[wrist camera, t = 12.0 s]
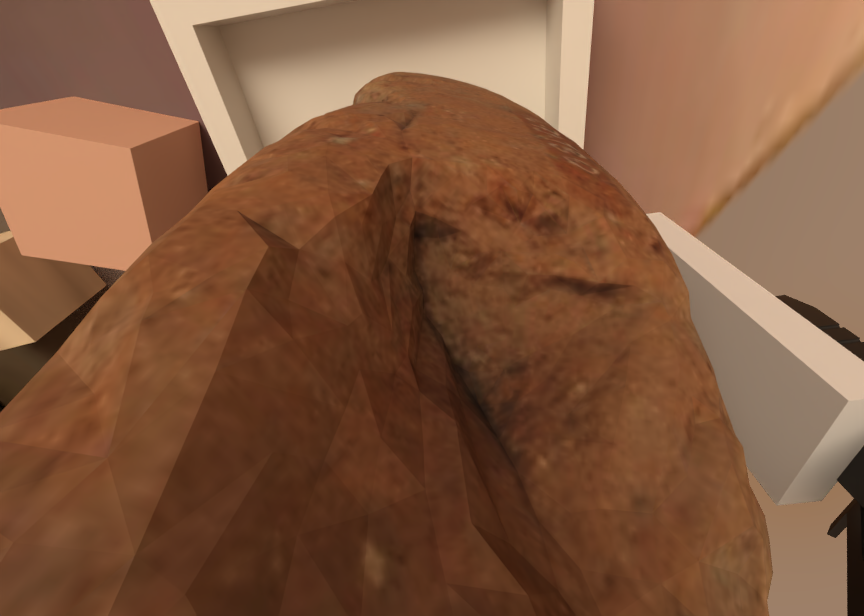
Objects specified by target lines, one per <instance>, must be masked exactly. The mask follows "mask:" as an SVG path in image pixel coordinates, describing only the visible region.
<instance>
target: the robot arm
mask: <svg viewBox="0 0 864 616" xmlns="http://www.w3.org/2000/svg"><path fill="white" fill-rule="evenodd" d="M646 215H647V216H648V217H649V219H650V220H651V221H652V222H653V224H654V225H655V227H656V228H657V230H658V232H659V233H660V235H661V237H662V238H663V240H664V242H665V243H666V245H667V247H668V248H669V250H670V251H671V253H672V255H673V257H674V260H675V262H676V264H677V266H678V269H679V271H680V273H681V275H682V278H683V280H684V282H685V284H686V286H687V289H688V291H689V300H690V314H691V319H692V321H693V323H694V326H695V328H696V330H697V333H698V335H699V337H700V339H701V342H702V344H703V346H704V348H705V351H706V353H707V355H708V357H709V360H710V362H711V364H712V367H713V369H714V373H715V376H716V380H717V384H718V388H719V390H720V393H721V396H722V399H723V401H724V404H725V407H726V410H727V413H728V415H729V418H730V421H731V424H732V426H733V429H734V432H735V435H736V436H737V438H738V440H739V441H740V443H741V444H742V446H743V449H744V455H745V461H746V466H747V467H748V469H749V470H750V471H751V473H752V474H753V475H754V477H755V478H756V479H757V480H758V482H759V483H760V485H761V486H762V487H763V488H764V490H765V491H766V492H767V494H768V495H769V496H770V498H771V499H772V500H773V502H774V503H775V504H776V505H784V504H785V505H786V504H796V503H806V502H816V501H822V500H823V499H824V497H825V496H826V495H827V494H828V493H829V491H830V490H831V489H832V488H833V486H834V485H835V484H836V483H837V481H838V482H839V483H840V484H841V485H842V486H843V487H844V488H845V489H846V490H847V491H848V492H849V493H850V494H851V495H852V497H853V498H854V499H853V500H852V502H851V503H850V504H849V505H848V506H847V507H846V508H845V509H844V510H843V512H842V513H841V514H840V515H839V516H838V517H837V518H836V520H835V521H834V522H833V523H832V524H831V526H830V528H829V531H828V533H827V534H828V535H830V536H832V537H835V538H836V537H837V536H838V535H839V534H840V533H841V532H842V531H843V530H844V528H846V527H847V602H848V603H847V609H848V610H847V611H848V616H864V342H860V340H859V339H860V338H859V337H857V336H856V335H854V334H853V333H852V332H850V331H849V330H847V329H846V328H840V327H839V324H838V323H837V322H836V321H834V320H833V319H831V318H829V317H828V316H827V315H825V314H824V313H822V312H821V311H820V310H818V309H817V308H815V307H813V306H810V305H808V304H805V303H803V302H800V301H798V300H796V299H793V298H791V297H789V296H786V295H782V296H774V295H772V294H771V293H770V292H768V291H767V290H766V289H764V288H763V287H762V286H760V285H759V284H757V283H756V282H755V281H753V280H752V279H751V278H749V277H748V276H747V275H745V274H744V273H742V272H741V271H740V270H738V269H737V268H736V267H734V266H733V265H732V264H730V263H729V262H727V261H726V260H725V259H723V258H722V257H721V256H719V255H718V254H717V253H715V252H714V251H712V250H711V249H710V248H708V247H707V246H706V245H704V244H703V243H702V242H700V241H699V240H697V239H696V238H695V237H693V236H692V235H691V234H689V233H688V232H687V231H685V230H684V229H682V228H681V227H680V226H678V225H677V224H676V223H674V222H673V221H672V220H670V219H669V218H667V217H666V216H665V215H663V214H662V213H661V212H658V213H651V214H646ZM2 410H3V409H2V408H1V407H0V412H1V411H2Z"/></svg>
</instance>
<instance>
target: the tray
mask: <svg viewBox="0 0 864 616" xmlns="http://www.w3.org/2000/svg"><path fill="white" fill-rule="evenodd" d="M150 2H151V4H152V7H153V9H154V11H155V13H156V16H157V18H158V20H159V22H160V25H161V27H162V29H163V31H164V34H165V36H166V38H167V40H168V43H169V45H170V47H171V49H172V52H173V54H174V56H175V58H176V61H177V63H178V65H179V67H180V70H181V72H182V74H183V76H184V79H185V81H186V83H187V85H188V88H189V90H190V92H191V94H192V97H193V99H194V101H195V103H196V106H197V108H198V110H199V113H200V115H201V117H202V119H203V122H204V124H205V126H206V128H207V131H208V133H209V135H210V137H211V140H212V142H213V144H214V146H215V149H216V151H217V153H218V155H219V158H220V160H221V162H222V164H223V167H224V169H225V171H226V173H227V176H228V175H229V174H231V173H232V172H233V171H234V170H236V169H237V168H238V167H239V166H241V165H242V164H243V163H245V162H246V161H247V160H249V159H250V158H251V157H252V156H254V155H255V154H256V153H258V152H259V151H260V150H262V149H263V148H264V147H265V146H268V145H270V144H273V143H275V142H277V141H279V140H281V139H282V138H283V137H285V136H286V135H287V134H289V133H290V132H291V131H293V130H294V129H295V128H297V127H299V126H300V125H302V124H304V123H305V122H307V121H309V120H310V119H312V118H315V117H318V116H321V115H325V113H328V112H332V111H335V110H338V109H341V108H344V107H347V106H351V105H353V100H354V97H355V94H356V93H357V92H358V91H359V90H360V89H361V88H362V87H363V86H364V85H365V84H366V83H369V82H370V81H371V80H373V79H375V78H377V77H379V76H382V75H385V74H388V73H393V72H411V73H422V74H428V75H434V76H441V77H445V78H450V79H454V80H458V81H462V82H466V83H469V84H472V85H476V86H479V87H482V88H485V89H487V90H490V91H492V92H495V93H497V94H500V95H502V96H504V97H506V98H508V99H509V100H511V101H513V102H515V103H517V104H519V105H521V106H523V107H525V108H527V109H528V110H530V111H532V112H533V113H535V114H536V115H538V116H540V117H541V118H542V119H543V120H545V121H546V122H547V123H549V124H550V125H551V126H552V127H554V128H555V129H556V130H557V131H559V132H560V133H562V134H563V135H565V136H566V137H568V138H570V139H571V140H573V141H574V142H576V143H577V144H578V145H579V146H580V147H581V148H582V149H583V147H584V133H585V120H586V106H587V92H588V79H589V65H590V51H591V38H592V24H593V10H594V0H150Z"/></svg>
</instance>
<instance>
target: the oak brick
mask: <svg viewBox="0 0 864 616" xmlns="http://www.w3.org/2000/svg"><path fill="white" fill-rule="evenodd" d="M105 286H106V284H105V282H104V281H103V280H102V279H101V278H100V277H99V276H98V274H97V273H96V272H95V271H94V270H93V269H92V268H91V266H90V265H84V264H78V263H71V262H64V261H57V260H51V259H44V258H37V257H31V256H24V255H21V253H20V250H19V248H18V246H17V244H16V241H15V239H14V237H13V235H12V232H11V231H8V232H4V233H1V234H0V351H1V350H5V349H9V348H13V347H17V346H21V345H25V344H29V343H33V342H36V341H37V340H39V339H40V338H41V337H42V336H44V335H45V334H46V333H47V332H49V331H50V330H51V329H52V328H54V327H55V326H56V325H57V324H59V323H60V322H61V321H62V320H64V319H65V318H66V317H67V316H69V315H70V314H71V313H72V312H74V311H75V310H76V309H78V308H79V307H80V306H81V305H83V304H84V303H85V302H86V301H88V300H89V299H90V298H91V297H93V296H94V295H95V294H96V293H98V292H99V291H100V290H101V289H103V288H104V287H105Z"/></svg>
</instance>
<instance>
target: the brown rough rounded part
mask: <svg viewBox="0 0 864 616" xmlns="http://www.w3.org/2000/svg"><path fill="white" fill-rule="evenodd" d="M772 574H773V571H772V562H771V552H770V542H769V536H768V531H767V525H766V520H765V515H764V513H763V511H762V509H761V507H760V505H759V503H758V501H757V499H756V497H755V495H754V493H753V491H752V489H751V487H750V485H749V479H748V473H747V467H746V461H745V455H744V449H743V446H742V444H741V443H740V441H739V440H738V438H737V436H736V435H735V432H734V429H733V426H732V424H731V421H730V418H729V415H728V413H727V410H726V407H725V404H724V401H723V399H722V396H721V393H720V390H719V388H718V384H717V380H716V376H715V373H714V369H713V367H712V364H711V362H710V360H709V357H708V355H707V353H706V351H705V348H704V346H703V344H702V342H701V339H700V337H699V335H698V333H697V330H696V328H695V326H694V323H693V321H692V319H691V314H690V300H689V291H688V289H687V286H686V284H685V282H684V280H683V278H682V275H681V273H680V271H679V269H678V266H677V264H676V262H675V260H674V257H673V255H672V253H671V251H670V250H669V248H668V247H667V245H666V243H665V242H664V240H663V238H662V237H661V235H660V233H659V232H658V230H657V228H656V227H655V225H654V224H653V222H652V221H651V220H650V219H649V217H648V216H647V215H646V214H645V212H644V211H643V210H642V209H641V207H640V206H639V205H638V204H637V202H636V201H635V200H634V199H633V198H632V196H631V195H630V194H629V193H628V192H627V191H626V190H625V189H624V188H623V186H622V185H621V184H620V183H619V182H618V181H617V180H616V179H615V178H614V177H613V176H612V175H610V174H609V173H608V172H607V171H606V170H605V169H604V168H603V167H601V166H600V165H599V164H598V163H597V162H596V161H595V160H594V159H593V158H592V157H590V156H589V155H588V154H587V153H586V152H585V151H584V150H583V149H582V148H581V147H580V146H579V145H578V144H577V143H576V142H574V141H573V140H571V139H570V138H568V137H566V136H565V135H563V134H562V133H560V132H559V131H557V130H556V129H555V128H554V127H552V126H551V125H550V124H549V123H547V122H546V121H545V120H543V119H542V118H541V117H540V116H538V115H536V114H535V113H533V112H532V111H530V110H528V109H527V108H525V107H523V106H521V105H519V104H517V103H515V102H513V101H511V100H509V99H508V98H506V97H504V96H502V95H500V94H497V93H495V92H492V91H490V90H487V89H485V88H482V87H479V86H476V85H472V84H469V83H466V82H462V81H458V80H454V79H450V78H445V77H441V76H434V75H428V74H422V73H411V72H393V73H388V74H385V75H382V76H379V77H377V78H375V79H373V80H371V81H370V82H369V83H366V84H365V85H364V86H363V87H362V88H361V89H360V90H359V91H358V92H357V93H356V94H355V97H354V100H353V105H351V106H347V107H344V108H341V109H338V110H335V111H332V112H328V113H325V115H321V116H318V117H315V118H312V119H310V120H309V121H307V122H305V123H304V124H302V125H300V126H299V127H297V128H295V129H294V130H293V131H291V132H290V133H289V134H287V135H286V136H285V137H283V138H282V139H281V140H279V141H277V142H275V143H273V144H270V145H268V146H265V147H264V148H263V149H262V150H260V151H259V152H258V153H256V154H255V155H254V156H252V157H251V158H250V159H249V160H247V161H246V162H245V163H243V164H242V165H241V166H239V167H238V168H237V169H236V170H234V171H233V172H232V173H231V174H229V175H228V176H227V177H226V178H224V179H223V180H222V181H221V182H220V183H218V184H217V185H216V186H215V187H213V188H212V189H211V190H210V191H209V193H208V194H207V195H206V196H205V197H204V198H203V199H202V200H201V201H200V202H199V203H198V204H197V205H196V206H195V207H194V208H193V209H192V210H191V211H190V212H189V213H188V214H187V215H186V216H185V217H184V218H182V219H181V220H180V221H179V222H177V223H176V224H175V225H174V226H172V227H171V228H170V229H169V230H168V231H166V232H165V233H164V234H163V235H161V236H160V237H159V238H158V239H156V240H155V241H154V242H153V243H152V244H151V245H150V246H149V247H148V248H147V249H146V250H145V251H144V252H143V253H142V254H141V255H140V256H139V257H138V259H137V260H136V261H135V262H134V263H133V264H132V265H131V266H130V267H129V268H128V269H127V270H126V271H125V272H124V273H123V274H122V275H121V277H120V278H119V279H118V280H117V281H116V282H115V283H114V284H113V285H112V286H111V287H110V288H109V289H108V290H107V291H106V292H105V294H104V295H103V296H102V297H101V298H100V299H99V300H98V302H97V303H96V304H95V305H94V307H93V308H92V309H91V310H90V311H89V313H88V314H87V315H86V316H85V318H84V319H83V320H82V321H81V323H80V324H79V325H78V326H77V328H76V329H75V330H74V331H73V333H72V334H71V335H70V336H69V338H68V339H67V340H66V341H65V342H64V344H63V345H62V346H61V347H60V349H59V350H58V351H57V352H56V353H55V354H54V356H53V357H52V358H51V359H50V360H49V361H48V362H47V363H46V364H45V365H44V366H43V367H42V368H41V369H40V371H39V372H38V373H37V374H36V375H35V376H34V377H33V378H32V379H31V380H30V381H29V382H28V383H27V384H26V386H25V387H24V388H23V389H22V390H21V391H20V392H19V393H18V394H17V395H16V396H15V397H14V398H13V399H12V401H11V402H10V403H9V404H8V405H7V406H6V407H5V408H4V409H3V410H2V411H1V412H0V616H769V612H768V604H767V599H768V594H769V589H770V584H771V579H772Z"/></svg>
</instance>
